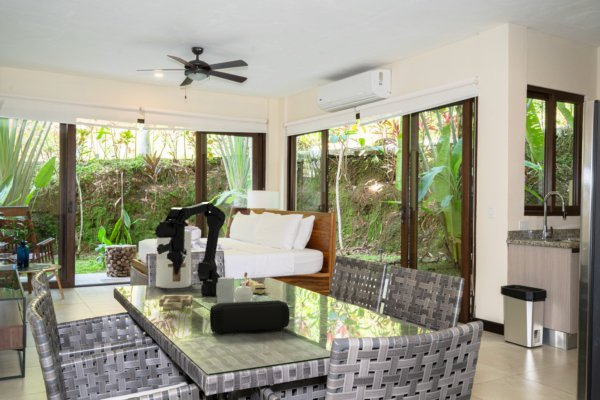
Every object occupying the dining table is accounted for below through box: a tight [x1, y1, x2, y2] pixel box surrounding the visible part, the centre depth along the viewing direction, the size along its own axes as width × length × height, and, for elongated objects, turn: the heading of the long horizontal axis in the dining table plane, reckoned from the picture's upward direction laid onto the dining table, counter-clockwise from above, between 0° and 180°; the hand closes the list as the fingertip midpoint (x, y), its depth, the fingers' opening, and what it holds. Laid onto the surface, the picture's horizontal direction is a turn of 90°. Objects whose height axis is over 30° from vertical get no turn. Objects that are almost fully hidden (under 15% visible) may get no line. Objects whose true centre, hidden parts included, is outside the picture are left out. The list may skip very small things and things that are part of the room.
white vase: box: [233, 281, 254, 302], centre depth 192 cm, size 8×8×12 cm
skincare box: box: [216, 276, 235, 304], centre depth 202 cm, size 6×4×12 cm
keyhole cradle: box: [158, 294, 193, 310], centre depth 204 cm, size 12×18×2 cm
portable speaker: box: [209, 299, 291, 335], centre depth 165 cm, size 26×10×10 cm, turn 110°
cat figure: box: [239, 272, 268, 295], centre depth 242 cm, size 10×9×25 cm
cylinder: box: [155, 229, 192, 289], centre depth 253 cm, size 17×17×28 cm
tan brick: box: [168, 263, 186, 282], centre depth 208 cm, size 7×3×8 cm, turn 97°
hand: (176, 273), depth 208 cm, fingers closed on tan brick, 3 cm apart
